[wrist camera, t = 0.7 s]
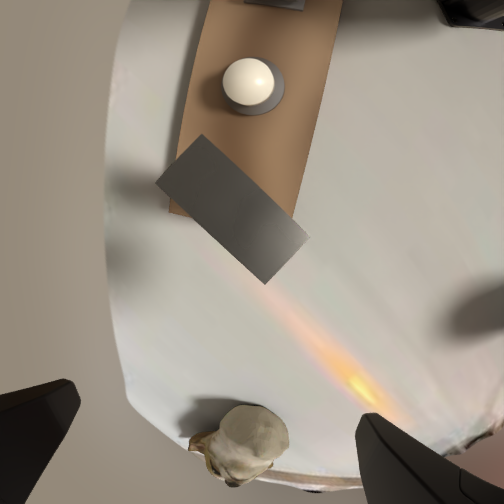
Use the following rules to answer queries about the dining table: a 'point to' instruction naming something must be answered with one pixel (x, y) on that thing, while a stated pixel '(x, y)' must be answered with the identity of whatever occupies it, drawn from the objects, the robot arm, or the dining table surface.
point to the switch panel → (282, 99)
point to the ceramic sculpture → (242, 444)
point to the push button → (248, 82)
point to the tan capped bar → (232, 209)
